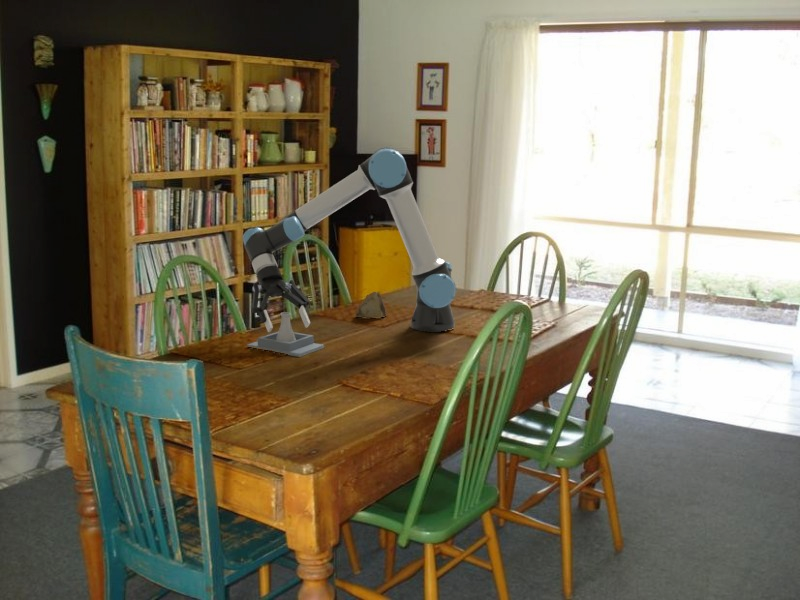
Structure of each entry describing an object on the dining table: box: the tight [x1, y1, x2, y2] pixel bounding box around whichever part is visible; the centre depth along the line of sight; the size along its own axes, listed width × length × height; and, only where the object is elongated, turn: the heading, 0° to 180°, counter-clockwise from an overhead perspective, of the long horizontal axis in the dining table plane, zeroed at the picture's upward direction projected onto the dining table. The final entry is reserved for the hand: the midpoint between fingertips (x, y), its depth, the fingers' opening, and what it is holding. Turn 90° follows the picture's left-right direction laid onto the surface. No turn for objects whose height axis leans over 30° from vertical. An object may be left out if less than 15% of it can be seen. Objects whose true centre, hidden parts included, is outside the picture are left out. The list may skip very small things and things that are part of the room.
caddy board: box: [246, 330, 325, 358], centre depth 286 cm, size 20×13×4 cm, turn 60°
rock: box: [355, 291, 387, 318], centre depth 331 cm, size 11×9×10 cm
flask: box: [276, 311, 296, 342], centre depth 286 cm, size 7×7×10 cm
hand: (289, 327), depth 283 cm, fingers open, 12 cm apart
